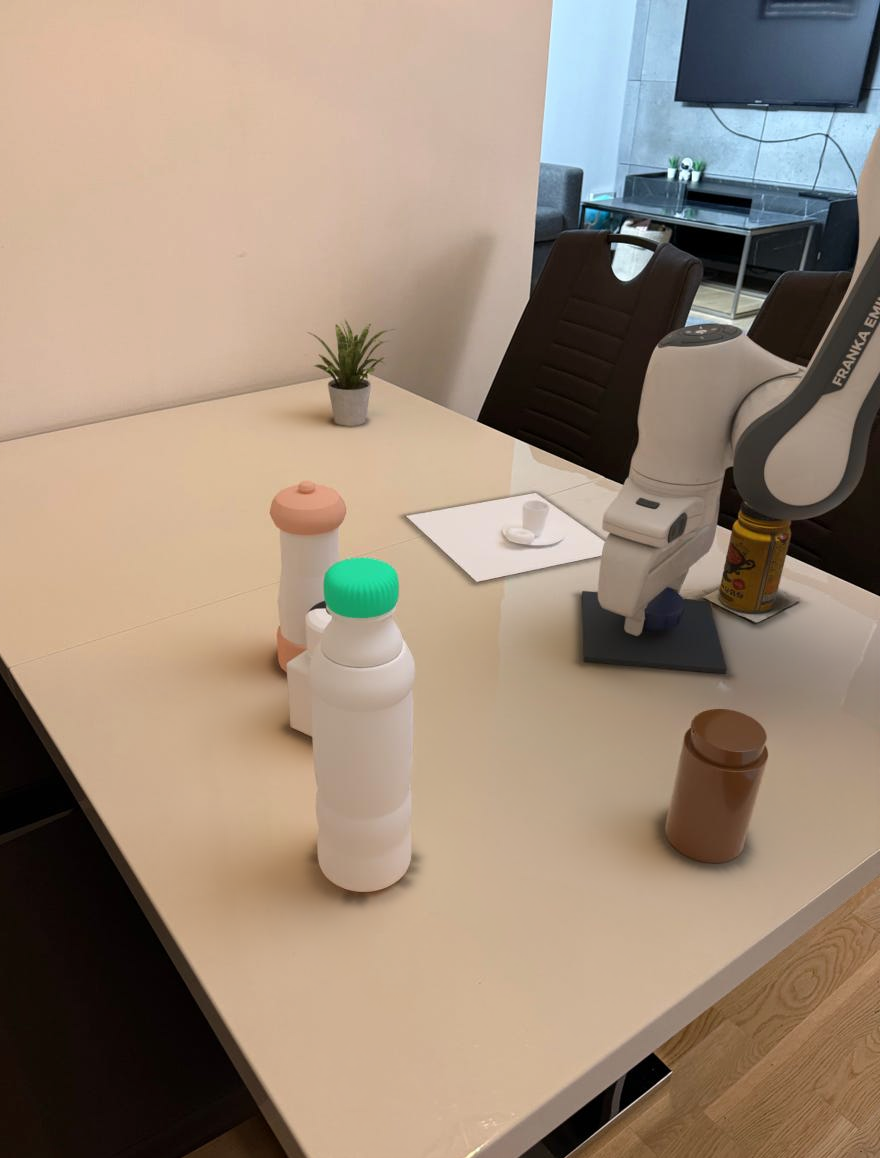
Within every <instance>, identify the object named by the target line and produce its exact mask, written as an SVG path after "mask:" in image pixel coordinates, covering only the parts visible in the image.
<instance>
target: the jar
mask: <svg viewBox="0 0 880 1158" xmlns="http://www.w3.org/2000/svg"><path fill="white" fill-rule="evenodd" d="M767 739H768V735H767V732H766V730H765V727H763V725H762V724H761V723H760V722H758V720H756V719H755V718H753V717H752V716H750V715H748V714H745V713H743V712H740V711H736V710H734V709H727V708H712V709H707V710H703V711H701V712H700V713H698V714H696V715H695V716H694V717H693V719H692V720H691V722H690V727H689V728H688V729H687V730H686V732H685V733H684V736H683V741H682V745H681V748H680V749H681V750H680V755H679V758H678V759H679V760H678V764H677V768H676V773H675V778H674V782H673V788H672V792H671V797H670V801H669V806H668V812H667V816H666V819H665V824H664V825H665V826H664V832H665V836H666V839H667V840H668V842H669V843H670V844H671V846H672V847H673V848H674V849H676V851H678V852H679V853H680V854H682V855H684V856H686V857H688V858H690V859H692V860H696V861H698V862H703V863H710V864H721V863H726V862H729V861H732V860H734V859H736V858H737V857H738V856H740V854H741V853H742V851H743V849H744V845H745V842H746V839H747V836H748V831H749V827H750V824H751V820H752V816H753V814H754V813H753V812H754V809H755V805H756V802H757V799H758V795H759V791H760V788H761V784H762V780H763V777H764V773H765V769H766V765H767V763H768V758H769V752H768V748H767V746H766V743H767Z"/></svg>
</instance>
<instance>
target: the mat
mask: <svg viewBox="0 0 880 1158" xmlns="http://www.w3.org/2000/svg"><path fill="white" fill-rule="evenodd" d="M683 599H684V603H685V604H684V607H685V608H684V613H683V617H682V619H681V621H680V623H679V624H678V625H676V626H675V627H672V628H669V629H664V630H651V629H645V630H644V631H643V632H642V633H641V634H640V635H638V636H635V635H632V634H630V633H627V632H626V631H625V629H624V626H625V619H624V618H623V617H622V615H619V614H616V613H613V612H611V611H608V610H606V609H603V608H602V607H601V605H600V603H599V600H598V591H589V590H582V591H581V611H582V613H581V615H582V641H583V643H582V645H583V661H584V662H585V663H586V662H587V663H598V664H599V663H600V664H610V665H620V666H621V665H623V666H632V667H644V668H654V669H655V668H656V669H666V670H667V669H668V670H679V671H680V670H681V671H692V672H702V673H713V674H723V675H724V674H727V671H728V667H727V665H726V660H725V657H724V653H723V649H722V645H721V641H720V638H719V634H718V630H717V627H716V622H715V618H714V614H713V611H712V608H711V607H712V606H711V603H710V600H705V599H703V600H702V599H692V598H691V599H689V598H683Z"/></svg>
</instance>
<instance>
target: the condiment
mask: <svg viewBox="0 0 880 1158" xmlns="http://www.w3.org/2000/svg"><path fill="white" fill-rule="evenodd" d="M791 524H792V520H781V519H776V518H772V517H768V516H766V515H763V514H761V513H759V512H758V511H756V510H754V509H753V508H752V507H750V506H749V505H748V504H747V503H746V502H745V501H744V500H743V499H742V502H741V503H740V509H739V512H738V515H737V520H735V522H734V523H733V524H732V529H731V531H730V532H731V534H730V537H729V543H728V548H727V552H726V556H725V562H724V566H723V570H722V575H721V581H720V584H719V585H720V586H719V589H717V590H714V591H712V592H710V593H707V594H705V595H702V596H701V597H702V598H703V599H706V600H707V601H709V602H711V603H714V604H715V605H717V606H719V607H721V608H723V609H725V610H727V611H730V612H731V613H733V614H735V615H737V616H741V617H742V618H746V619H748V620H750V621H752V622H754V623H757V624H758V623H759V622H761V621H764V620H766V619H768V618H770V617H772V616H774V615H776V614H778V613H779V612H782V611H783V610H784V609H787V608H788V607H791V606H793V605H794V604H796V603H797V602H800V601H802V598H799V597H797V596H793V595H791V594H788V593H786V592H783V591H781V590H779V585H780V582H781V578H782V573H783V570H784V567H785V562H786V557H787V553H788V549H789V545H790V542H791V537H792V531H791Z"/></svg>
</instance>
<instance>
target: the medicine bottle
mask: <svg viewBox="0 0 880 1158" xmlns="http://www.w3.org/2000/svg"><path fill="white" fill-rule="evenodd" d="M331 619H332V615H330V613H329V612H328V611H327V608H326V603H325V601H322V602H320V603H318V604H316V605H314V606H313V607H312V608H311V609H310V610H309V611H308V613H307V614H306V638H307V650H306V651H304V652H303V653H301V654H300V655H298V656H297V657H295V658H294V659H292V660H291V661H289V662H288V663H287V665H286V666H287V673H286V679H287V691H288V692H287V695H288V709H289V710H288V711H289V712H288V713H289V725H290V727H291V728H292V729H294V730H296V731H299V732H301V733H303V734H305V735H307V736H309V737H311V738H312V696H313V688H312V686H311V683H310V677H309V666H310V661H311V658H312V655H313V653H314V651H315V649H316V647H317V645H318V643H319V641H320V640H321V637H322V634H323V631H324V629H325V628H326V626H327V625H328V623H329V622H330V621H331Z"/></svg>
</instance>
